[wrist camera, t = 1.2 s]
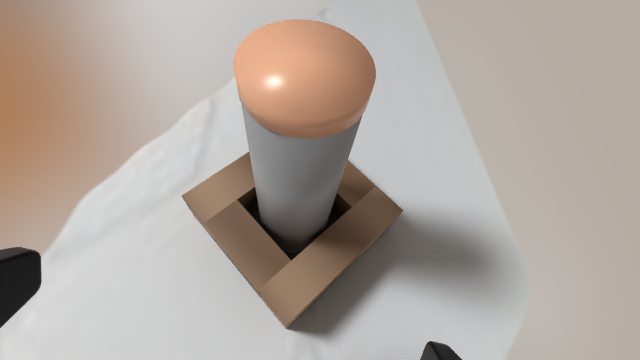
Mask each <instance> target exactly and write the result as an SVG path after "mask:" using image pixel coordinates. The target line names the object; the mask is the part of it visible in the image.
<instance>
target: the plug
mask: <svg viewBox="0 0 640 360" xmlns="http://www.w3.org/2000/svg"><path fill="white" fill-rule="evenodd" d="M234 71H235V77H236V83H237V88H238V94H239V98H240V101H241V103H242V110H243V116H244V122H245V128H246V134H247V140H248V146H249V152H250V158H251V164H252V170H253V176H254V182H255V188H256V194H257V200H258V206H259V212H260V218H261V224H262V228H263V229H264V231H265V232H266V233H267V234H268V235H269V236H270V237H271V238H272V240H273V241H274V242H275V243H276V244H277V245H278V246H279V247H280V249H281V250H283V251H286V252H301V251H303V250H304V249H305V248H306V247H307V246H309V245H310V244H311V243H312V242H313V241H314V240H315V239H317V238H318V237H319V236H320V235H321V234H322V233H323V232H324V230H325V227H326V224H327V221H328V218H329V215H330V212H331V209H332V206H333V203H334V200H335V197H336V194H337V190H338V187H339V184H340V181H341V178H342V175H343V172H344V169H345V166H346V163H347V160H348V157H349V154H350V151H351V148H352V145H353V142H354V139H355V136H356V133H357V130H358V127H359V124H360V121H361V118H362V115H363V113H364V111H365V109H366V107H367V104H368V101H369V98H370V95H371V92H372V89H373V86H374V83H375V78H376V70H375V64H374V61H373V59H372V57H371V55H370V53H369V52H368V50H367V49H366V48H365V46H364V45H363V44H362V43H361V42H360V41H359V40H357V39H356V38H355V37H354V36H352V35H351V34H349V33H348V32H346V31H344V30H342V29H340V28H337V27H335V26H333V25H329V24H326V23H322V22H318V21H312V20H284V21H279V22H274V23H271V24H268V25H265V26H263V27H261V28H259V29H257V30H255V31H254V32H252V33H251V34H250V35H248V36H247V37H246V38H245V39H244V40H243V41H242V43H241V44H240V46H239V47H238V49H237V51H236V54H235V59H234Z"/></svg>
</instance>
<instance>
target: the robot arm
mask: <svg viewBox="0 0 640 360" xmlns="http://www.w3.org/2000/svg"><path fill="white" fill-rule="evenodd" d="M40 286H41V256H40V254H39V253H38V252H37V251H35V250H31V249H26V248H22V247H14V248H8V249H3V250H0V328H1V327H2V326H3V325H4V324H5V323H6V322H7V321H8V320H9V319H10V318H11V317H12V316H13V315H14V314H15V313H16V312H17V311H18V310H19V309H20V308H21V307H22V306H23V305H25V304H26V303H27V302H28V301H29V300H30V299H31V298H32V297H33V296H34V295H35V294H36V293H37V291H38V290H39V288H40ZM420 360H462V359H461V358H460V357H459V356H458V355H457V354H456V353H455V352H454V351H453V350H452V349H451V348H450V347H449V346H448V345H446V344H442V343H437V342H433V341H430V342H428V343H427V344H426V346H425V348H424V351H423V354H422V356H421V359H420Z"/></svg>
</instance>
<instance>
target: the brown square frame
mask: <svg viewBox="0 0 640 360" xmlns="http://www.w3.org/2000/svg"><path fill="white" fill-rule="evenodd" d="M182 198H183V199H184V201H185V202H186V204H187V205H188V207H189V209H190V210H191V212H192V213H193V215H194V216H195V217H196V219H197V220H198V221H199V222H200V223H201V225H202V226H203V227H204V228H205V230H206V231H207V232H208V233H209V235H210V236H211V237H212V238H213V239H214V241H215V242H216V243H217V244H218V246H219V247H220V248H221V249H222V251H223V252H224V253H225V254H226V255H227V257H228V258H229V259H230V260H231V262H232V263H233V264H234V265H235V267H236V268H237V269H238V270H239V271H240V273H241V274H242V275H243V276H244V278H245V279H246V280H247V281H248V283H249V284H250V285H251V286H252V287H253V289H254V290H255V291H256V292H257V294H258V295H259V296H260V297H261V299H262V300H263V301H264V302H265V303H266V305H267V306H268V307H269V308H270V310H271V311H272V312H273V313H274V315H275V316H276V317H277V318H278V319H279V321H280V322H281V323H282V324H283V326H284V327H285V328H286V329H287V328H288V327H289V326H290V325H291V324H292V323H293V322H294V321H295V320H296V319H297V318H298V317H299V316H300V315H301V314H302V313H303V312H304V311H305V310H306V309H307V308H308V307H309V306H310V305H311V304H312V303H313V302H314V301H315V300H316V299H317V298H318V297H319V296H320V295H321V294H322V293H323V292H324V291H325V290H326V289H327V288H328V287H329V286H330V285H331V284H332V283H333V282H334V281H335V280H336V279H337V278H338V277H339V276H340V275H341V274H342V273H343V272H344V271H345V270H346V269H347V268H348V267H349V266H350V265H351V264H352V263H353V262H354V261H355V260H356V259H358V258H359V257H360V256H361V255H362V254H363V253H364V252H365V251H366V250H367V249H368V248H369V247H370V246H371V245H372V244H373V243H374V242H375V241H376V240H377V239H378V238H379V237H380V236H381V235H382V234H383V233H384V232H385V231H386V230H387V229H388V228H389V227H390V226H391V224H392V223H393V222H394V221H395V220H396V218H397V217H398V216H399V215H400V213H401V212H402V211H403V210H402V209H401V208H400V207H399V206H398V205H397V204H396V203H394V202H393V201H392V200H391V199H390V198H389V197H388V196H387V195H386V194H385V193H383V192H382V191H381V190H380V189H379V188H378V187H377V186H376V185H375V184H374V183H372V182H371V181H370V180H369V179H368V178H367V177H366V176H365V175H364V174H362V173H361V172H360V171H359V170H358V169H357V168H356V167H355V166H354V165H353V164H351V163H350V162H349V161H348V160H347V163H346V166H345V169H344V172H343V175H342V178H341V181H340V184H339V187H338V190H337V194H336V197H335V200H334V203H333V206H332V209H331V211H332V212H333V213H334V214H335V215H336V216H337V217H338V218H339V219H338V220H337V221H336V222H335V223H333V224H332V225H331V226H330V227H329V228H328V229H327V230H326V231H324V232H323V233H322V234H321V235H320V236H319V237H318V238H317V239H315V240H314V241H313V242H312V243H311V244H310V245H309V246H307V247H306V248H305V249H304V250H303V251H302V252H301V253H300V254H298V255H297V256H296V257H295V258H294V259H293V260H292V261H291V260H290V259H289V258H288V256H287V255H286V254H285V253H284V252H283V251H282V250H281V249H280V247H279V246H278V245H277V244H276V243H275V242H274V241H273V240H272V238H271V237H270V236H269V235H268V234H267V233H266V232H265V231H264V229H263V228H262V227H261V226H260V225H259V224H258V223H257V222H256V220H255V219H254V218H253V217H252V216H251V215H250V214H249V212H251V211H252V210H253V209H255V208H256V207H257V206H258V200H257V194H256V188H255V182H254V176H253V170H252V164H251V158H250V152H248V153H246V154H245V155H243V156H242V157H240V158H239V159H237V160H236V161H234V162H233V163H231V164H230V165H228V166H226V167H225V168H223V169H222V170H220V171H219V172H217V173H216V174H214V175H213V176H211V177H210V178H208V179H207V180H205V181H203V182H202V183H200V184H199V185H197V186H196V187H194V188H193V189H191V190H190V191H188V192H187V193H185V194H183V195H182Z"/></svg>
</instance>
